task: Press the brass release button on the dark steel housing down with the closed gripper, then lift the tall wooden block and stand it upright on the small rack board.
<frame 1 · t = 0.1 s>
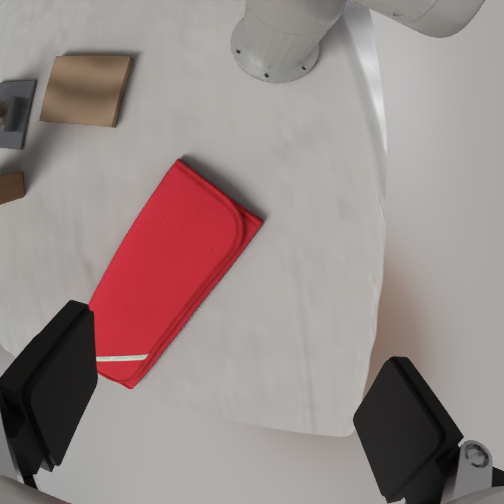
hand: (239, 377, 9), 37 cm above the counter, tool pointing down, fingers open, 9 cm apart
dish drying mat: (149, 291, 48), on the counter
rack board: (85, 89, 36), on the counter
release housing: (10, 114, 36), on the counter
wooden block: (8, 186, 40), on the counter
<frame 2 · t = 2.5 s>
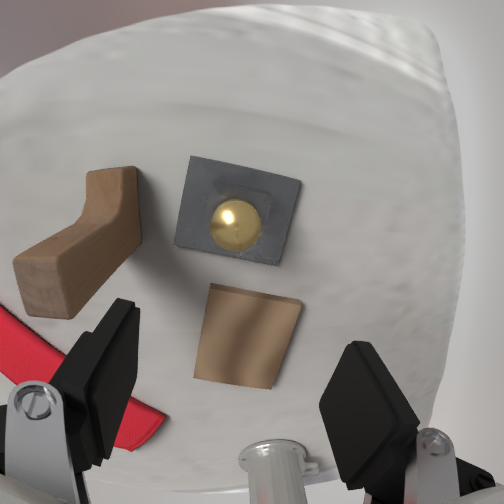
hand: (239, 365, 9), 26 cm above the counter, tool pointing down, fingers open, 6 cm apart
release button: (235, 224, 27), point 7 cm above the counter, slide at 0.0 cm
dish drying mat: (49, 370, 41), on the counter
rack board: (243, 339, 39), on the counter
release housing: (235, 211, 34), on the counter
wooden block: (122, 205, 33), on the counter
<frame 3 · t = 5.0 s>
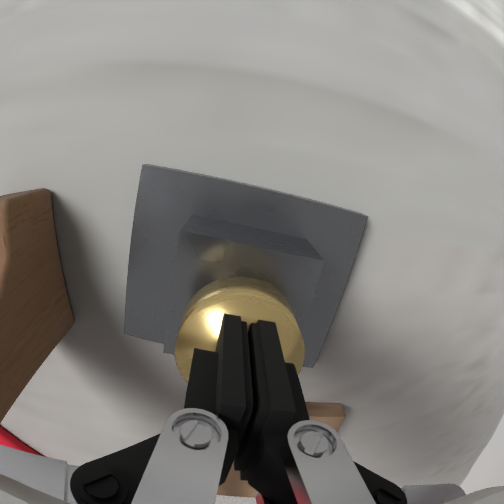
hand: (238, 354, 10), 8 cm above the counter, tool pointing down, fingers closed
release button: (239, 342, 11), point 7 cm above the counter, slide at 0.0 cm, touching gripper
dish drying mat: (4, 443, 24), on the counter
rack board: (250, 451, 22), on the counter
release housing: (237, 275, 17), on the counter
wooden block: (38, 258, 16), on the counter
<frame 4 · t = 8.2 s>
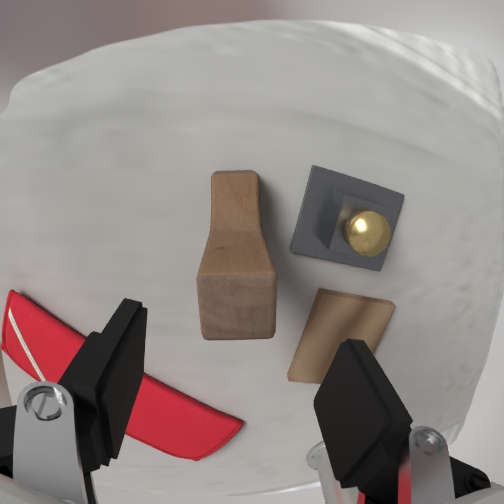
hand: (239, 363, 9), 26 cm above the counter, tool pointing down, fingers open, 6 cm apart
release button: (367, 232, 29), point 6 cm above the counter, slide at 1.0 cm
dish drying mat: (111, 386, 42), on the counter
rack board: (339, 339, 40), on the counter
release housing: (348, 220, 35), on the counter
wooden block: (235, 210, 34), on the counter
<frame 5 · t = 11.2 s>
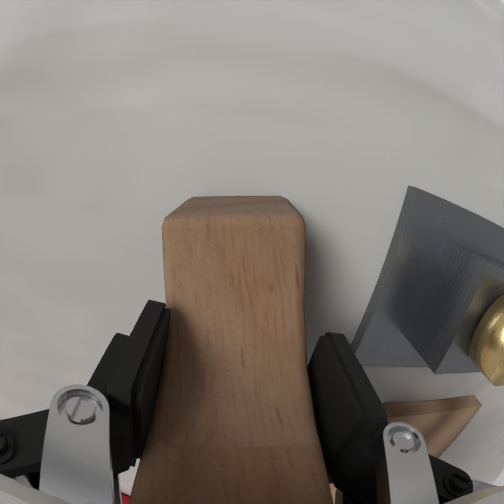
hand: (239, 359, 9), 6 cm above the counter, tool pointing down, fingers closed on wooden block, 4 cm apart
rack board: (395, 452, 21), on the counter
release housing: (453, 293, 16), on the counter
wooden block: (238, 287, 15), on the counter, touching gripper
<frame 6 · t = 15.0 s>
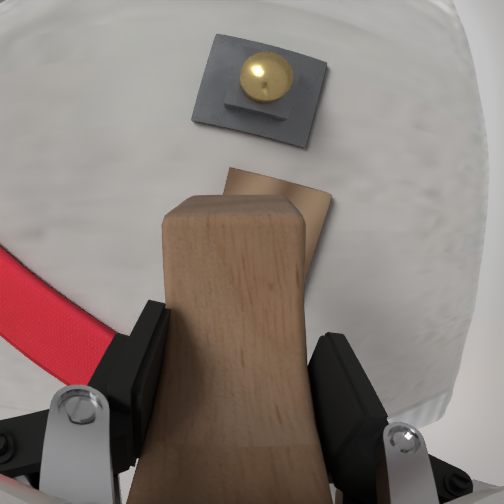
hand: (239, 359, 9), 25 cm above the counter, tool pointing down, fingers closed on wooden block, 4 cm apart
release button: (265, 77, 23), point 6 cm above the counter, slide at 1.0 cm
dish drying mat: (25, 306, 36), on the counter
rack board: (263, 240, 34), on the counter
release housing: (260, 88, 28), on the counter
wooden block: (238, 286, 15), point 19 cm above the counter, touching gripper
when the fingers open (8 cm above the counter, at t = 19.2 s): wooden block stays where it is, resting on rack board.
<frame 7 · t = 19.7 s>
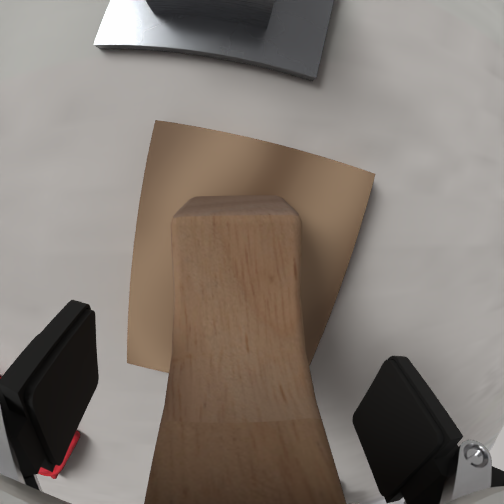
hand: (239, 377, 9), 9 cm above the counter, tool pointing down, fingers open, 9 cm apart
rack board: (236, 270, 17), on the counter
wooden block: (237, 281, 16), point 1 cm above the counter, touching rack board
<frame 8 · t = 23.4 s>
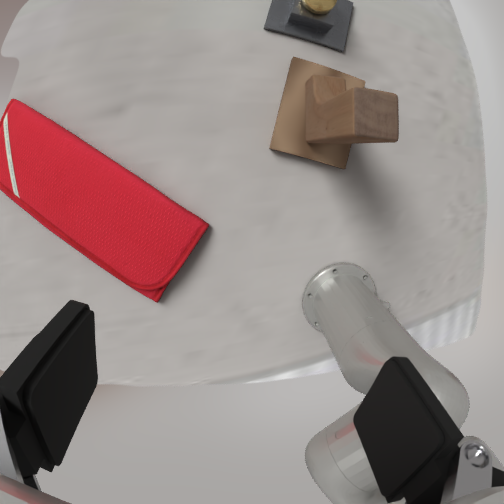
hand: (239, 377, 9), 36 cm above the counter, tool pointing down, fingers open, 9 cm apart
dish drying mat: (78, 192, 42), on the counter
rack board: (317, 112, 40), on the counter
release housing: (310, 14, 34), on the counter
wooden block: (320, 112, 38), point 1 cm above the counter, touching rack board
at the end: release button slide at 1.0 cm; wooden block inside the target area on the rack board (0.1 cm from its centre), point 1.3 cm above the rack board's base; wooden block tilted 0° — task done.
